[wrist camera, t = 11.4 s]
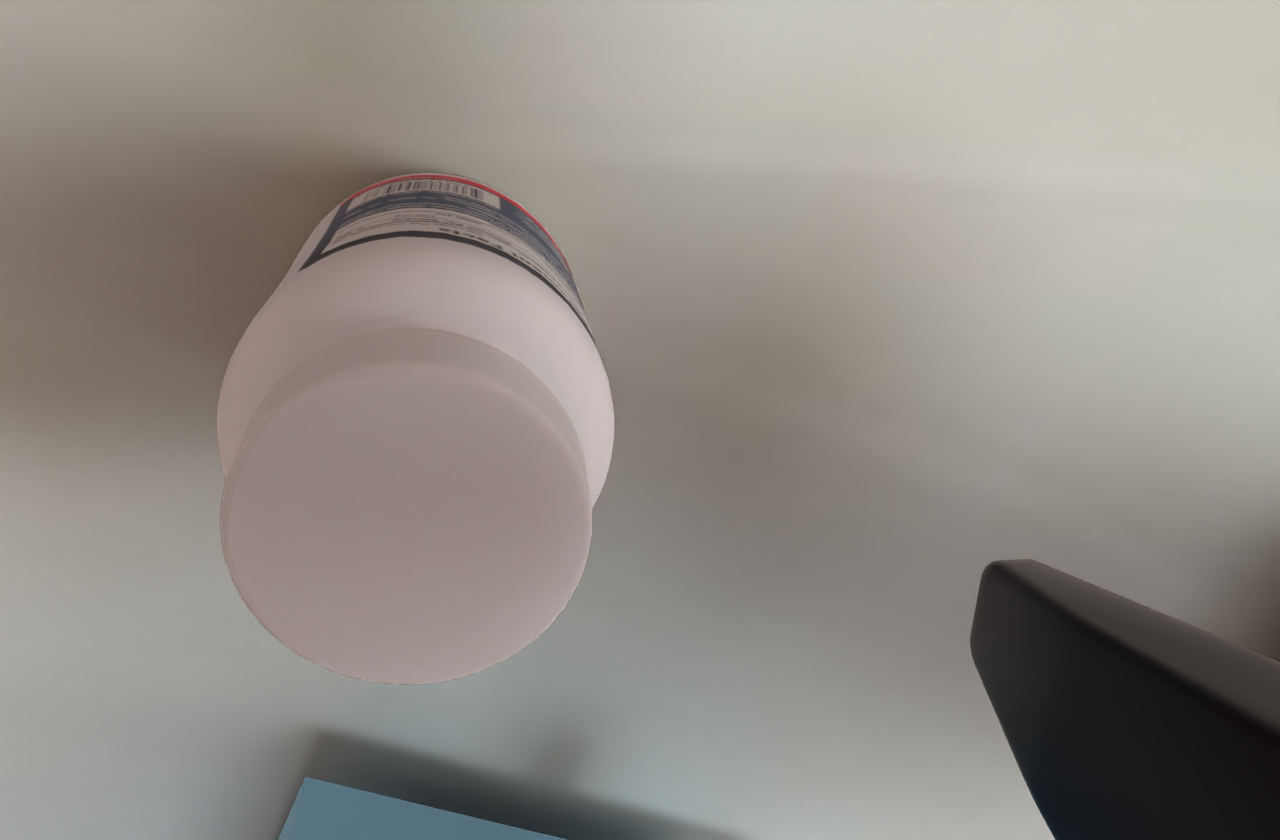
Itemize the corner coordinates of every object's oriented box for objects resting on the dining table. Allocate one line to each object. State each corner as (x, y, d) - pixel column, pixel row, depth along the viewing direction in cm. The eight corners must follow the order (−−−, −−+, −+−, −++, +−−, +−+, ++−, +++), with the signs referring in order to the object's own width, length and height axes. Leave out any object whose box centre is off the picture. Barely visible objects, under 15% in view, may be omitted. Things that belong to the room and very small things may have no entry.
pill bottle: (453, 487, 20) (437, 808, 12) (232, 323, 18) (40, 576, 10) (633, 297, 19) (743, 513, 11) (419, 104, 18) (367, 196, 9)
